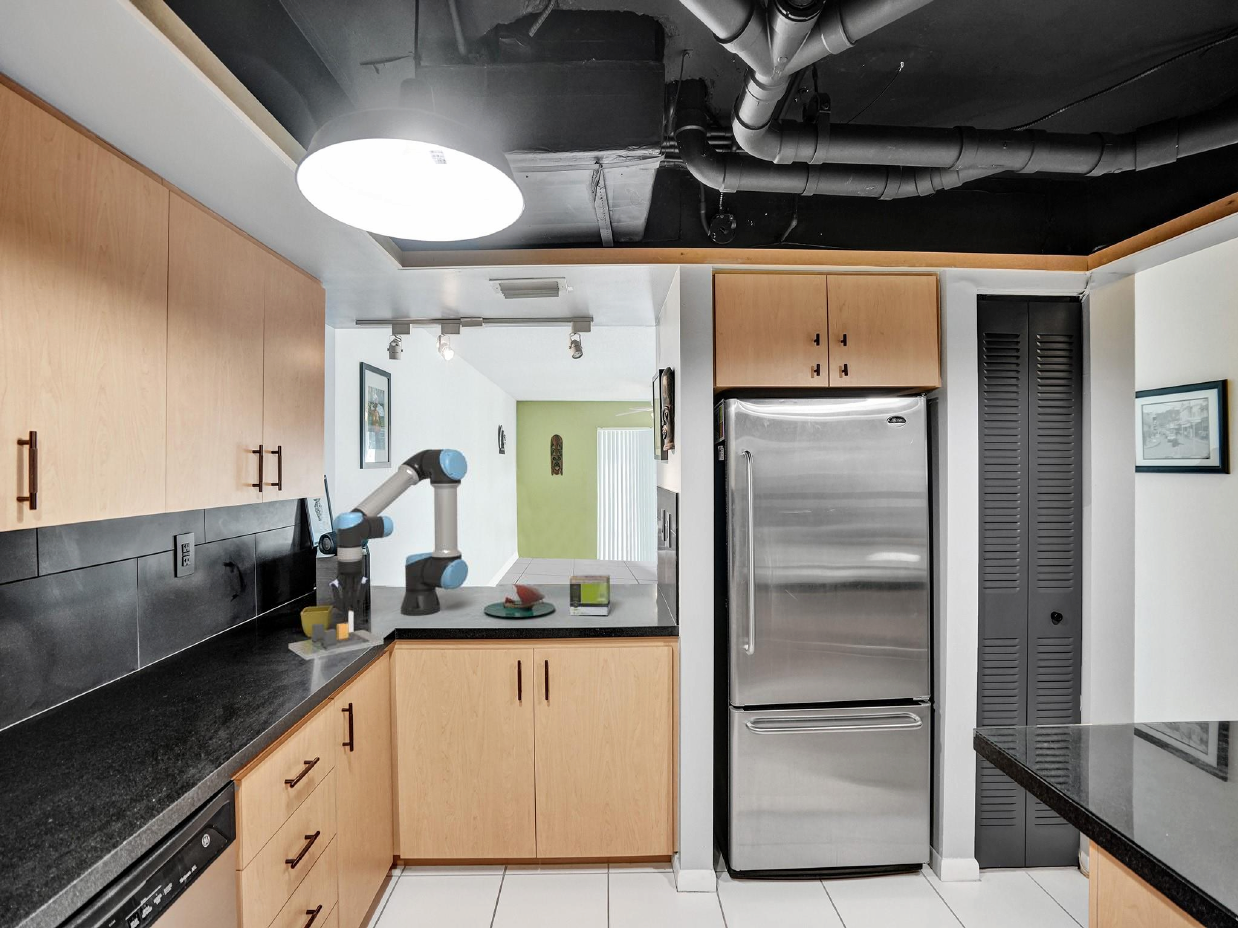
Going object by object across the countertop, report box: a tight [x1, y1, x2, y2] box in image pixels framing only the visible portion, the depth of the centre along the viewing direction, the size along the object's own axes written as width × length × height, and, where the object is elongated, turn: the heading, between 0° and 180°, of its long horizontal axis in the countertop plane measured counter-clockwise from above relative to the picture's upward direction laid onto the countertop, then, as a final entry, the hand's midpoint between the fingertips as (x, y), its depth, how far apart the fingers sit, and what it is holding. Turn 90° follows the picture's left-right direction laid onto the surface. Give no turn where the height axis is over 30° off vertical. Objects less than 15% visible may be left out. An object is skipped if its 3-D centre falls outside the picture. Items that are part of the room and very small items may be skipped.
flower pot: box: [300, 605, 333, 638], centre depth 217 cm, size 9×9×9 cm
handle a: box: [312, 623, 324, 641], centre depth 205 cm, size 3×2×5 cm, turn 134°
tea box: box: [569, 574, 611, 616], centre depth 249 cm, size 15×10×15 cm
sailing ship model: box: [483, 583, 556, 618], centre depth 251 cm, size 28×28×11 cm
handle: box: [324, 628, 337, 648], centre depth 198 cm, size 3×2×5 cm, turn 134°
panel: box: [288, 629, 384, 661], centre depth 204 cm, size 24×16×2 cm, turn 135°
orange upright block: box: [336, 622, 349, 640], centre depth 205 cm, size 3×2×5 cm, turn 134°
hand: (349, 631), depth 207 cm, fingers closed
